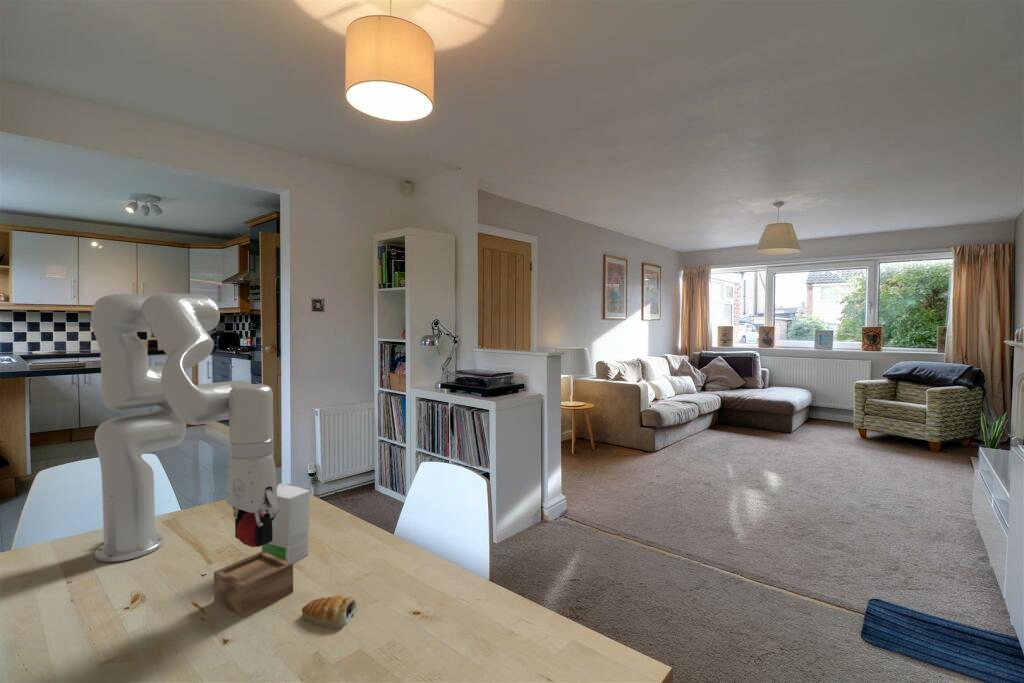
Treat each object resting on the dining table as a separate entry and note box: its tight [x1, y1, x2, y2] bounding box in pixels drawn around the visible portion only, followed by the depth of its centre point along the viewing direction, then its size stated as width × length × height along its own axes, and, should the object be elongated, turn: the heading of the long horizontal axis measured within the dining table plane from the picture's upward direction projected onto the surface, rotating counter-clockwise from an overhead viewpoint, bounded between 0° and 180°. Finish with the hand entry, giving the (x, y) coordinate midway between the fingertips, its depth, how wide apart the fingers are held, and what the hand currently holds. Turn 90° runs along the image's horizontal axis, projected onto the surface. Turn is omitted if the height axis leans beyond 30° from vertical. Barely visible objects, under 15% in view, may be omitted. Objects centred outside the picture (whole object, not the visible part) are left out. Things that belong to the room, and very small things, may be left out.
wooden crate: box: [213, 551, 294, 619], centre depth 96 cm, size 10×10×6 cm
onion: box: [237, 512, 264, 548], centre depth 95 cm, size 6×6×8 cm
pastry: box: [301, 594, 358, 629], centre depth 90 cm, size 9×7×4 cm
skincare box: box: [260, 484, 311, 565], centre depth 111 cm, size 8×7×16 cm
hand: (253, 539), depth 95 cm, fingers closed on onion, 5 cm apart
